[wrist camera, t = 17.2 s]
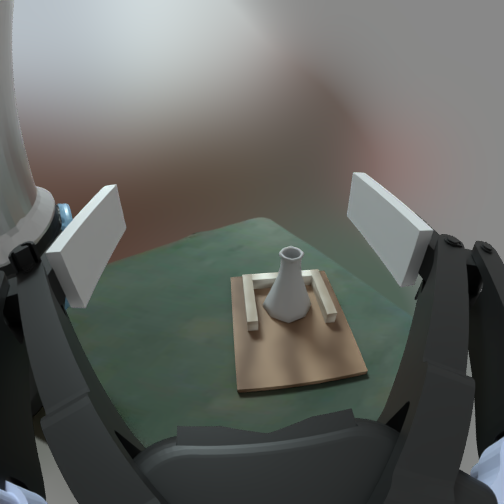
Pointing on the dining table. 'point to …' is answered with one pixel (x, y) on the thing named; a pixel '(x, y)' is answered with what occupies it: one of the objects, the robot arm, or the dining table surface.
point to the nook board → (291, 337)
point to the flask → (288, 289)
